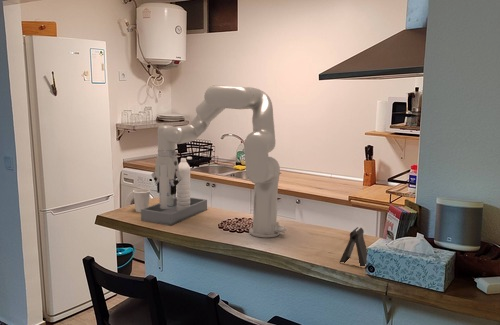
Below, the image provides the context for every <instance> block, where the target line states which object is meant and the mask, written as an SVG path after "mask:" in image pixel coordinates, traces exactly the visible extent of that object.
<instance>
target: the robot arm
mask: <svg viewBox="0 0 500 325" xmlns="http://www.w3.org/2000/svg"><path fill="white" fill-rule="evenodd" d="M225 109H231V110H249V109H250V110H251V111H252V118H251V120H252V121H251V122H252V132H250V133H249V134H248V135H247V136H246V137H245V140H244V143H243V144H244V146H243V150H244V161H245V171H246V176H247V179H248V180H249V181H250V182H251V183H252V184H254V186H253V187H254V188H253V213H252V214H253V215H252V216H253V217H252V227H250V228H249V230H248V233H249V234H250V235H251V236H253V237H257V238H266V239H267V238H275V237H278V236H279V235H280V234H281V233H282V234H285V233H286V231H287V229H286V227H285V226H281V225H280V223H279V222H278V221H277V220H278V218H277V216H278V215H277V214H278V193H279V192H278V191H279V190H278V188H279V180H280V173H281V169H280V164H279V162H278V161H277V159H275V157H272V156H269V153H271V152H272V151H273V150H274V149H275V147H276V133H275V132H276V131H275V120H274V109H273V102H272V99H271V97H270V96H269V95H268V94H267V93H266V92H265V91H263V90H261V89H259V88H257V87H256V88H255V87H250V86H249V87H248V86H247V87H245V86H226V85H217V84H215V85H212V86H209V87H208V88H207V89H206V90H205V92H204V98H203V100H202V101H201V102H200V103H199V104H198V105H197V106H196V107H195V113H196V115H195V117H194V118H193V119H192V120H191V121H190V122H189V123H188V124H185V125H177V126H173V125H168V124H165V125H162V124H161V125H159V126H158V127H157V156H156V159H155V167H154V171H153V172H152V174H150V175H151V177H152V178H153V180H154V182H155V184H156V186H157V187H156V188H157V189H156V190H157V191H156V192H157V193H158V194H159V164H166V165H167V169H168V178H169V180H170V181H171V184H172V186H171V195H173V194H174V195H177V184H178V183H179V182H180V181H181V179H182V177H181V175H180V174H179V166H178V165H179V160H178V157H177V156H178V152H177V151H176V144H177V145H180V144H186V143H191V142H193V141H195V140H196V139H198V138H199V137H200V136H201V135H202V134H203V133H204V132H205V131H206V130H207V129H208V127H209V125H210V124H211V122H212V121H213V120H215V118H217V117H218V116H219V115H220V114H221V113H222V112H223V111H225Z"/></svg>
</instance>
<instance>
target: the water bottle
mask: <svg viewBox="0 0 500 325" xmlns="http://www.w3.org/2000/svg"><path fill="white" fill-rule="evenodd" d="M187 160H193V157H192V156H187V157H181V158H180V162H178V166H179V174H180V175H181V177H182V179H181V181H180V182H179V183H178V184H177V185H176V197H177V211H178V210H181V209H183V208H186V207H188V206H190V198H191V170H192V169H191V167H190V164H189V163H188V162H187Z"/></svg>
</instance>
